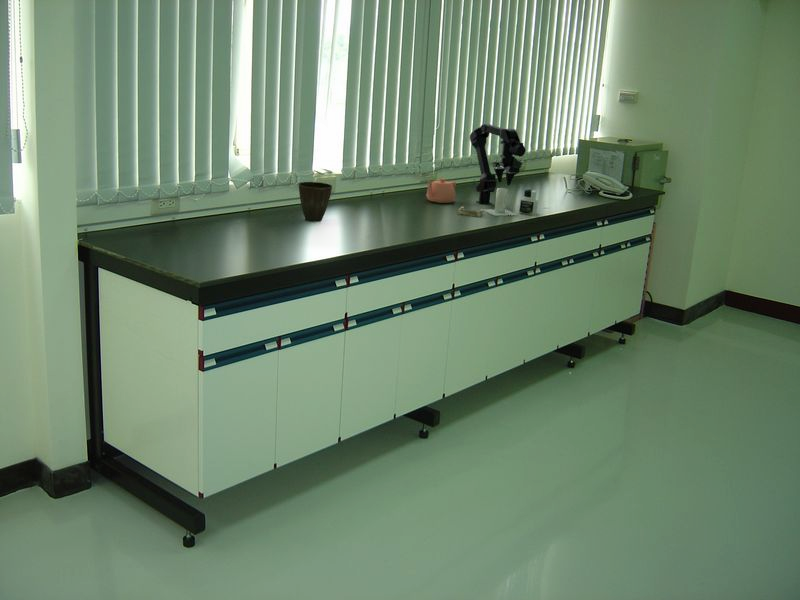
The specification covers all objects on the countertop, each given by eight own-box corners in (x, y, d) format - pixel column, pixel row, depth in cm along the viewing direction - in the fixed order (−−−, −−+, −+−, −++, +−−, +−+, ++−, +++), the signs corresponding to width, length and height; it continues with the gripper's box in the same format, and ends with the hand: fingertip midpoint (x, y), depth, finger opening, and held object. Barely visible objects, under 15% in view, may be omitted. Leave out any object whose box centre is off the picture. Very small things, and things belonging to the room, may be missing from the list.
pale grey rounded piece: (492, 210, 434) (495, 187, 430) (502, 211, 435) (505, 188, 432) (498, 214, 427) (500, 190, 423) (508, 214, 428) (510, 190, 425)
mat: (481, 210, 436) (481, 209, 435) (505, 210, 441) (505, 209, 441) (494, 215, 423) (494, 215, 423) (518, 215, 429) (518, 214, 429)
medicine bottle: (519, 213, 436) (521, 189, 432) (523, 211, 442) (526, 188, 438) (532, 215, 433) (535, 191, 429) (536, 213, 439) (539, 190, 435)
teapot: (434, 205, 438) (436, 182, 435) (414, 200, 449) (416, 177, 445) (464, 202, 453) (466, 179, 449) (443, 197, 463) (445, 175, 460)
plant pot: (328, 217, 391) (330, 182, 386) (331, 224, 377) (333, 188, 372) (296, 215, 388) (297, 181, 384) (298, 223, 374) (299, 187, 370)
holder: (461, 211, 428) (461, 206, 428) (482, 214, 426) (483, 209, 425) (457, 214, 421) (458, 209, 420) (479, 216, 418) (479, 211, 418)
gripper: (530, 156, 431) (526, 187, 436) (512, 151, 447) (508, 180, 452) (511, 156, 427) (507, 187, 431) (493, 150, 443) (490, 180, 448)
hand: (504, 183), depth 441 cm, fingers open, 9 cm apart
